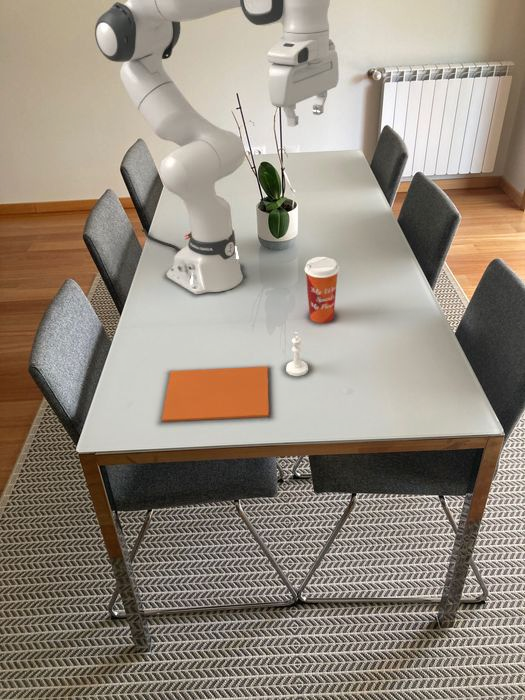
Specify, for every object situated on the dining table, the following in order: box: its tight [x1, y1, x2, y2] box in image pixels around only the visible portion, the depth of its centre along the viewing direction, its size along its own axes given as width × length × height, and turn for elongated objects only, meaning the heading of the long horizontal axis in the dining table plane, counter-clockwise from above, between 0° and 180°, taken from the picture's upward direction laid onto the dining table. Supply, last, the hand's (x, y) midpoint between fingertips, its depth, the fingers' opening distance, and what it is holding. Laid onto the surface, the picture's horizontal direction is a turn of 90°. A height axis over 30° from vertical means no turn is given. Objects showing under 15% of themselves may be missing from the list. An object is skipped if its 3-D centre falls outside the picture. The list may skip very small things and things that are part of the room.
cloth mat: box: [161, 366, 270, 422], centre depth 129 cm, size 22×16×1 cm
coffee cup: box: [304, 256, 340, 324], centre depth 147 cm, size 8×8×15 cm
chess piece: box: [285, 331, 309, 377], centre depth 132 cm, size 5×5×10 cm
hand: (305, 119), depth 125 cm, fingers open, 8 cm apart
